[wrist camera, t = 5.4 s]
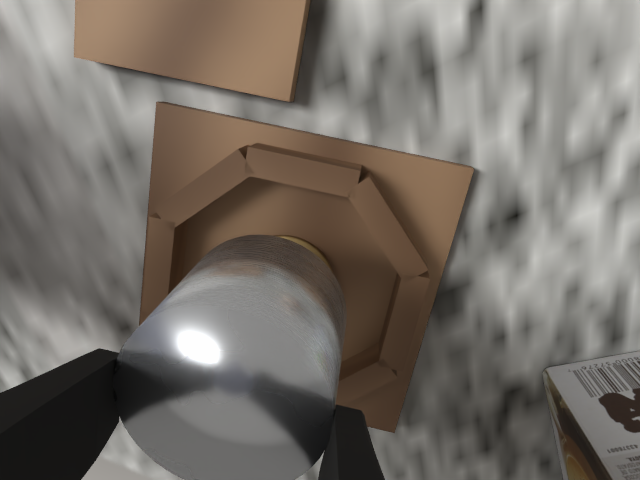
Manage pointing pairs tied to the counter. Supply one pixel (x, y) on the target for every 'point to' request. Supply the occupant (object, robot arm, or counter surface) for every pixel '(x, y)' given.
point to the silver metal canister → (237, 365)
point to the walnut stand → (199, 40)
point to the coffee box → (596, 417)
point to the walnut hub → (311, 229)
